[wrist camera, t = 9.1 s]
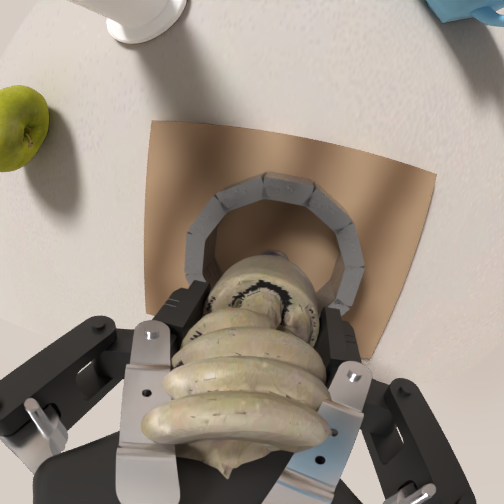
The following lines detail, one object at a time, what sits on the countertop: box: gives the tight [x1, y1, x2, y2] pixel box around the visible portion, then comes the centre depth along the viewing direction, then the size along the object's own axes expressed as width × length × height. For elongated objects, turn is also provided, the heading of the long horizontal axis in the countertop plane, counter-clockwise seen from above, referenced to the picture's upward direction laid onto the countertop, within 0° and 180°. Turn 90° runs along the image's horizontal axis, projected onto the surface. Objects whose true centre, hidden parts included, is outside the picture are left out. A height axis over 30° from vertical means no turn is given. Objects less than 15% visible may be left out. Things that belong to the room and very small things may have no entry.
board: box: [144, 120, 437, 359], centre depth 20 cm, size 20×16×1 cm
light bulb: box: [141, 250, 333, 479], centre depth 12 cm, size 6×6×15 cm
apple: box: [0, 85, 49, 172], centre depth 16 cm, size 8×9×8 cm
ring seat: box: [184, 171, 365, 317], centre depth 19 cm, size 11×11×3 cm
